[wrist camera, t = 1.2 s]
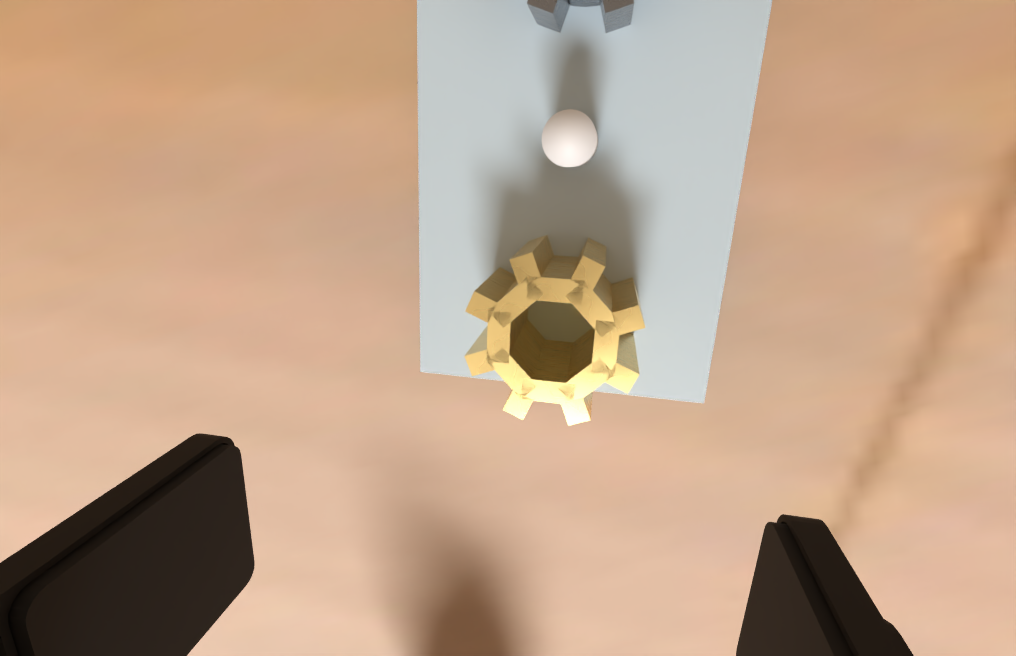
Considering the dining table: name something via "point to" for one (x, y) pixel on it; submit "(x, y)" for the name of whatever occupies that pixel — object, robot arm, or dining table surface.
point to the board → (585, 166)
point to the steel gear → (553, 5)
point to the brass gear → (549, 363)
